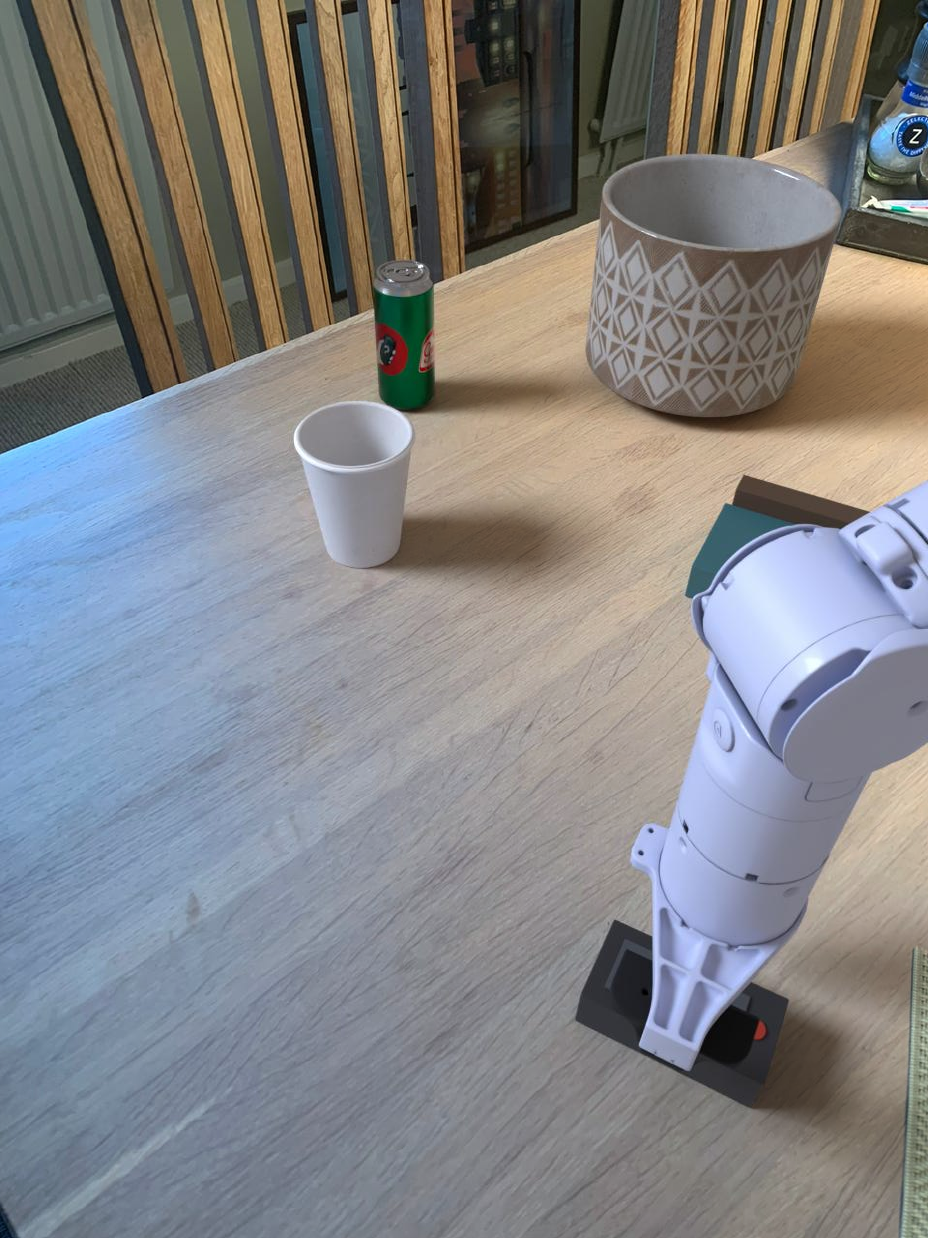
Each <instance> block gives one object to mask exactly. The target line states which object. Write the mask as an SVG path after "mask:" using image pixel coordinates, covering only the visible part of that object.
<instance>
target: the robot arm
mask: <svg viewBox="0 0 928 1238" xmlns="http://www.w3.org/2000/svg"><path fill="white" fill-rule="evenodd" d="M869 512H870V513H868V514H866V515H864V516H863V517H861V518H859V519H857V520H856V521H854V522H852V523H850V524H849V525H847V526H845V527H844V528H842V529H838V528H825V527H822V526H818V525H812V524H797V525H793V526H785V527H782V528H778V529H775V530H773V531H770V532H768V533H765V534H763V535H761V536H759V537H758V538H756V539H754V540H752V541H751V542H749V543H748V544H746V545H745V546H743V547H742V548H741V549H739V550H738V551H737V552H736V553H735V554H734V555H733V556H731V557H730V558H729V559H728V561H727V562H726V563H725V564H724V565H723V566H722V567H721V569H720V570H719V572H718V573H717V574H716V576H715V578H714V580H713V582H712V584H711V586H710V587H709V589H707V590H706V591H704V592H702V593H699V594H697V595H695V596H694V597H693V598H691V599H692V600H691V604H690V618H691V623H692V626H693V629H694V630H695V632H696V634H697V636H698V638H699V639H700V641H701V642H702V644H703V645H704V646H705V648H707V649H708V650H709V653H710V654H709V659H708V663H707V666H706V670H705V676H706V678H707V680H708V682H709V683H710V686H709V689H708V693H707V696H706V699H705V703H704V706H703V710H702V713H701V717H700V721H699V723H698V727H697V730H696V735H695V738H694V741H693V745H692V749H691V752H690V755H689V759H688V762H687V766H686V769H685V773H684V775H683V779H682V782H681V786H680V790H679V793H678V797H677V800H676V804H675V808H674V811H673V814H672V817H671V821H670V824H669V827H665V826H663V825H660V824H658V823H652V822H649V823H646V824H644V825H643V826H642V828H641V829H640V831H639V833H638V835H637V837H636V840H635V842H634V844H633V846H632V848H631V853H630V857H629V862H630V865H631V866H632V868H634V869H636V870H637V871H639V872H641V873H643V874H645V875H647V876H648V877H649V879H650V881H651V887H652V888H651V893H652V894H651V902H652V903H651V904H652V905H651V906H652V907H651V908H652V913H651V915H652V917H651V919H652V920H651V921H652V922H651V923H652V937H653V961H652V960H650V959H647V958H645V957H643V956H641V955H639V954H637V953H635V952H632V951H630V950H628V949H626V950H625V952H624V954H623V957H622V959H621V961H620V964H619V966H618V968H617V971H616V973H615V975H614V978H613V980H612V984H611V987H610V993H609V1001H610V1008H611V1009H612V1011H614V1012H616V1013H618V1014H619V1015H621V1016H622V1017H624V1018H625V1019H627V1020H628V1021H629V1022H630V1023H631V1024H632V1026H633V1027H634V1029H635V1033H636V1037H637V1041H638V1044H639V1047H640V1050H641V1052H642V1053H644V1054H646V1055H648V1056H650V1057H652V1058H654V1059H656V1060H658V1061H660V1062H662V1063H664V1064H666V1065H668V1066H670V1067H672V1068H674V1069H676V1070H678V1071H683V1070H686V1071H690V1070H691V1068H692V1066H694V1065H696V1064H698V1063H700V1062H703V1061H709V1062H714V1063H717V1064H720V1065H723V1066H725V1067H728V1068H730V1069H736V1068H737V1067H738V1066H739V1065H740V1064H741V1063H742V1062H743V1061H744V1060H745V1059H746V1058H747V1056H748V1054H749V1052H750V1050H751V1047H752V1044H753V1040H754V1037H755V1034H756V1031H757V1028H758V1024H759V1021H760V1019H759V1017H756V1016H754V1015H752V1014H750V1013H748V1012H746V1011H744V1010H742V1009H740V1008H737V1007H735V1006H733V1005H731V1003H732V1002H733V1001H734V1000H735V999H736V998H737V997H738V996H739V995H740V994H741V992H742V991H743V990H744V989H745V988H746V987H747V986H748V985H749V984H750V983H751V982H752V983H753V981H754V980H755V979H756V978H757V976H758V975H759V974H760V973H761V972H762V971H763V970H764V969H765V968H766V966H768V964H770V962H771V961H772V960H773V959H774V958H775V957H776V955H778V953H780V951H781V950H782V949H783V948H784V947H785V946H786V945H787V944H788V943H789V942H790V941H791V939H792V938H793V937H794V935H795V934H796V933H797V932H798V930H799V928H800V926H801V924H802V923H803V921H804V917H806V913H807V909H808V904H809V897H810V895H811V893H812V891H813V889H814V886H815V885H816V883H817V881H818V879H819V877H820V875H821V873H822V871H823V869H824V867H825V865H826V863H827V861H828V860H829V857H830V855H831V853H832V851H833V849H834V847H835V845H836V843H837V841H838V840H839V838H840V835H841V834H842V831H843V829H844V828H845V826H846V824H847V822H848V820H849V817H850V816H851V814H852V812H853V811H854V808H855V806H856V805H857V803H858V801H859V799H860V796H861V795H862V793H863V791H864V789H865V787H866V785H867V784H868V782H869V780H870V777H871V776H872V774H873V773H874V772H876V771H879V770H881V769H883V768H885V767H888V766H889V765H891V764H894V763H897V762H899V761H902V760H904V759H907V758H908V757H909V756H911V755H912V754H914V753H915V752H917V751H918V750H920V749H921V748H922V747H924V746H925V745H927V744H928V479H927V480H924V481H923V482H921V483H919V484H918V485H915V486H914V487H912V488H911V489H909V490H907V491H905V492H904V493H902V494H900V495H898V496H896V497H894V498H893V499H891V500H889V501H888V502H885V503H883V504H882V505H881V506H879V507H877V508H875V509H873V510H871V511H869Z"/></svg>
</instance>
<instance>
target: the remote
mask: <svg viewBox="0 0 928 1238" xmlns="http://www.w3.org/2000/svg"><path fill="white" fill-rule="evenodd" d="M626 949H628V950H630V951H632V952H635V953H637V954H639V955H641V956H643V957H645V958H647V959H650V960H652V961H653V935H650V934H648V933H645V932H644V931H641V930H639V929H637V928H635V927H632V926H631V925H628V924H626V923H625V922H622V921H619V920H617V919H613V921H612V923H611V925H610V927H609V930H608V932H607V934H606V936H605V939H604V941H603V943H602V945H601V947H600V949H599V952H598V954H597V956H596V959H595V960H594V963H593V966H592V967H591V970H590V972H589V974H588V976H587V979H586V981H585V983H584V985H583V988H582V990H581V992H580V997H579V999H578V1004H577V1009H576V1013H575V1017H574V1019H575V1022H577V1023H579V1024H581V1025H583V1026H585V1027H587V1028H589V1029H592V1030H593V1031H595V1032H598V1033H599V1034H601V1035H603V1036H605V1037H607V1038H608V1039H611V1040H613V1041H615V1042H617V1043H618V1044H621V1045H623V1046H625V1047H627V1048H629V1049H631V1050H633V1051H635V1052H637V1053H639V1054H641V1055H642V1056H645V1057H646V1058H649V1059H651V1060H654V1061H655V1062H657V1063H658V1064H661V1065H663V1066H665V1067H667V1068H669V1069H671V1070H673V1071H675V1072H677V1073H679V1074H681V1075H683V1076H685V1077H687V1078H689V1079H691V1080H693V1081H695V1082H697V1083H699V1084H701V1085H703V1086H705V1087H707V1088H709V1089H711V1090H713V1091H715V1092H717V1093H719V1094H721V1095H723V1096H725V1097H727V1098H729V1099H731V1100H733V1101H735V1102H737V1103H739V1104H741V1105H743V1106H745V1107H747V1108H751V1107H753V1104H754V1103H755V1101H756V1099H757V1097H759V1094H760V1093H761V1091H762V1090H763V1088H764V1086H765V1084H766V1081H767V1077H768V1074H769V1072H770V1071H769V1070H770V1068H771V1065H772V1064H771V1063H772V1060H773V1057H774V1053H775V1050H776V1047H777V1044H778V1041H779V1036H780V1032H781V1030H782V1026H783V1022H784V1019H785V1015H786V1012H787V1009H788V1005H789V1002H790V1000H789V998H787V997H785V996H783V995H781V994H779V993H776V992H774V991H772V990H770V989H768V988H766V987H764V986H762V985H759V984H756V983H754V982H753V981H752V982H751V983H750V984H749V985H748V986H747V987H746V988H745V989H744V990H743V991H742V992H741V994H740V995H739V996H738V997H737V998H736V999H735V1000H734V1001H733V1002H732V1003H731V1005H733V1006H735V1007H737V1008H740V1009H742V1010H744V1011H746V1012H748V1013H750V1014H752V1015H754V1016H756V1017H759V1019H760V1021H759V1024H758V1028H757V1031H756V1034H755V1037H754V1040H753V1044H752V1047H751V1050H750V1052H749V1054H748V1056H747V1058H746V1059H745V1060H744V1061H743V1062H742V1063H741V1064H740V1065H739V1066H738V1067H737V1068H736V1069H730V1068H728V1067H725V1066H723V1065H720V1064H717V1063H714V1062H709V1061H703V1062H700V1063H698V1064H696V1065H694V1066H692V1068H691V1070H690V1071H686V1070H683V1071H678V1070H676V1069H674V1068H672V1067H670V1066H668V1065H666V1064H664V1063H662V1062H660V1061H658V1060H656V1059H654V1058H652V1057H650V1056H648V1055H646V1054H644V1053H642V1052H641V1050H640V1047H639V1044H638V1041H637V1037H636V1033H635V1029H634V1027H633V1026H632V1024H631V1023H630V1022H629V1021H628V1020H627V1019H625V1018H624V1017H622V1016H621V1015H619V1014H618V1013H616V1012H614V1011H612V1009H611V1008H610V1001H609V993H610V987H611V984H612V980H613V978H614V975H615V973H616V971H617V968H618V966H619V964H620V961H621V959H622V957H623V954H624V952H625V950H626Z"/></svg>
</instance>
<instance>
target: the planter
mask: <svg viewBox="0 0 928 1238" xmlns="http://www.w3.org/2000/svg"><path fill="white" fill-rule="evenodd" d="M599 211H600V212H599V221H598V228H597V229H598V230H597V237H596V238H597V239H596V247H595V256H594V266H593V275H592V283H591V285H592V286H591V293H590V302H589V311H588V320H587V321H588V322H587V329H586V340H585V357H586V361H587V364H588V366H589V368H590V370H591V371H592V373H593V374H594V375H595V377H596V378H597V379H598V380H599V381H600V383H602V384H603V385H604V386H605V387H607V388H608V389H609V390H610V391H612V392H613V393H615V394H617V395H618V396H620V397H622V398H623V399H625V400H628V401H630V402H632V403H635V404H637V405H639V406H642V407H645V408H648V409H652V410H654V411H657V412H662V413H665V414H666V413H667V414H672V415H678V416H684V417H695V418H720V417H721V418H723V417H724V418H725V417H732V416H738V415H739V416H740V415H745V414H747V413H752V412H755V411H758V410H761V409H763V408H767V407H768V406H770V405H773V404H774V403H775V402H777V401H779V399H781V398H783V397H784V395H786V393H788V392H789V390H790V389H791V388H792V387H793V385H794V383H795V381H796V379H797V376H798V372H799V369H800V365H801V362H802V358H803V354H804V351H805V347H806V343H807V341H808V338H809V337H808V336H809V333H810V330H811V326H812V322H813V319H814V315H815V311H816V309H817V305H818V302H819V298H820V295H821V290H822V288H823V285H824V280H825V277H826V273H827V270H828V266H829V263H830V258H831V256H832V252H833V248H834V245H835V242H836V238H837V234H838V230H839V228H840V224H841V220H842V215H843V210H842V206H841V204H840V201H839V200H838V198H837V197H836V195H834V194H833V193H832V191H830V190H829V189H828V188H827V187H825V186H824V185H823V184H822V183H820V182H819V181H817V180H815V179H813V178H812V177H810V176H808V175H805V174H804V173H801V172H799V171H797V170H793V169H792V168H788V167H785V166H782V165H779V164H776V163H772V162H768V161H764V160H759V159H754V158H749V157H744V156H736V155H728V154H727V155H726V154H714V153H713V154H712V153H682V154H670V155H669V154H668V155H663V156H661V155H660V156H656V157H652V158H646V159H642V160H639V161H636V162H633V163H630V164H627V165H626V166H623V167H622V168H620V169H618V170H616V171H615V172H614V173H613V174H611V175H610V176H609V177H608V178H607V180H606V181H605V183H604V185H603V187H602V193H601V202H600V210H599Z"/></svg>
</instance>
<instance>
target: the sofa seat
mask: <svg viewBox="0 0 928 1238" xmlns="http://www.w3.org/2000/svg"><path fill="white" fill-rule="evenodd" d="M870 512H871V511H869V510H865V509H862V508H859V507H855V506H853V505H848V504H845V503H842V502H839V501H835V500H832V499H828V498H824V497H821V496H818V495H816V494H811V493H808V492H805V491H800V490H798V489H794V488H791V487H787V486H784V485H781V484H777V483H775V482H770V481H767V480H764V479H760V478H756V477H754V476H751V475H746V474H743V475H742V477H741V479H740V480H739V483H738V484H737V486H736V488H735V492H734V496H733V500H732V503H731V504H730V503H727V502H725V503H724V505H723V506H722V509H721V510H720V512H719V514H718V516H717V518H716V520H715V521H714V523H713V525H712V527H711V529H710V531H709V533H708V534H707V536H706V538H705V540H704V542H703V543H702V546H701V547H700V550H699V551H698V553H697V555H696V557H695V559H694V561H693V563H692V565H691V569H690V572H689V577H688V581H687V585H686V590H685V594H684V596H685V597H687V598H689V599H693V597H694V596H695V595H697V594H699V593H702V592H704V591H706V590H707V589H709V587H710V586H711V584H712V582H713V580H714V578H715V576H716V574H717V573H718V572H719V570H720V569H721V567H722V566H723V565H724V564H725V563H726V562H727V561H728V559H729V558H730V557H731V556H733V555H734V554H735V553H736V552H737V551H738V550H739V549H741V548H742V547H743V546H745V545H746V544H748V543H749V542H751V541H752V540H754V539H756V538H758V537H759V536H761V535H763V534H765V533H768V532H770V531H773V530H775V529H778V528H782V527H785V526H793V525H797V524H812V525H818V526H822V527H825V528H838V529H842V528H844V527H845V526H847V525H849V524H850V523H852V522H854V521H856V520H857V519H859V518H861V517H863V516H864V515H866V514H868V513H870Z"/></svg>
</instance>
